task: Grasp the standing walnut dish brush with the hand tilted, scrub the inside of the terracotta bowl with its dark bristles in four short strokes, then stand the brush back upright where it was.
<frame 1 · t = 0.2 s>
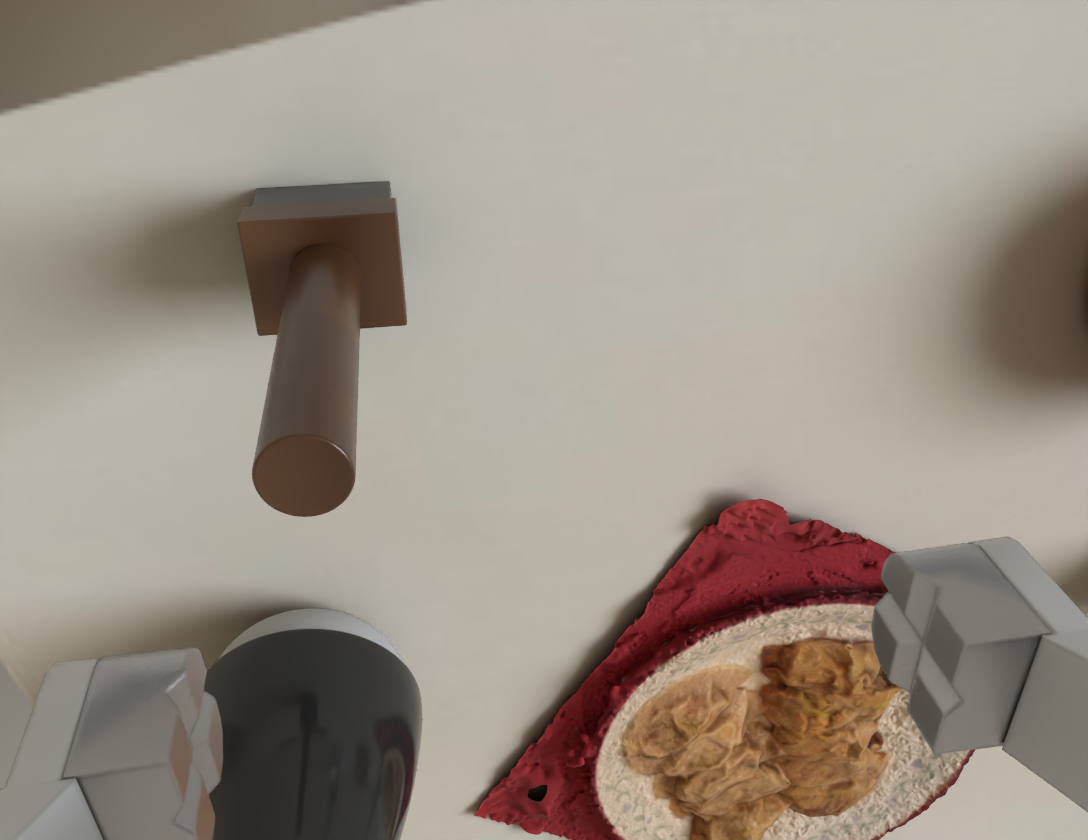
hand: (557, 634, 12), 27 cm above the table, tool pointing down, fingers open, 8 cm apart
plate with food: (762, 718, 55), on the table
dish brush: (330, 233, 37), on the table
pump dispenser: (312, 652, 48), on the table
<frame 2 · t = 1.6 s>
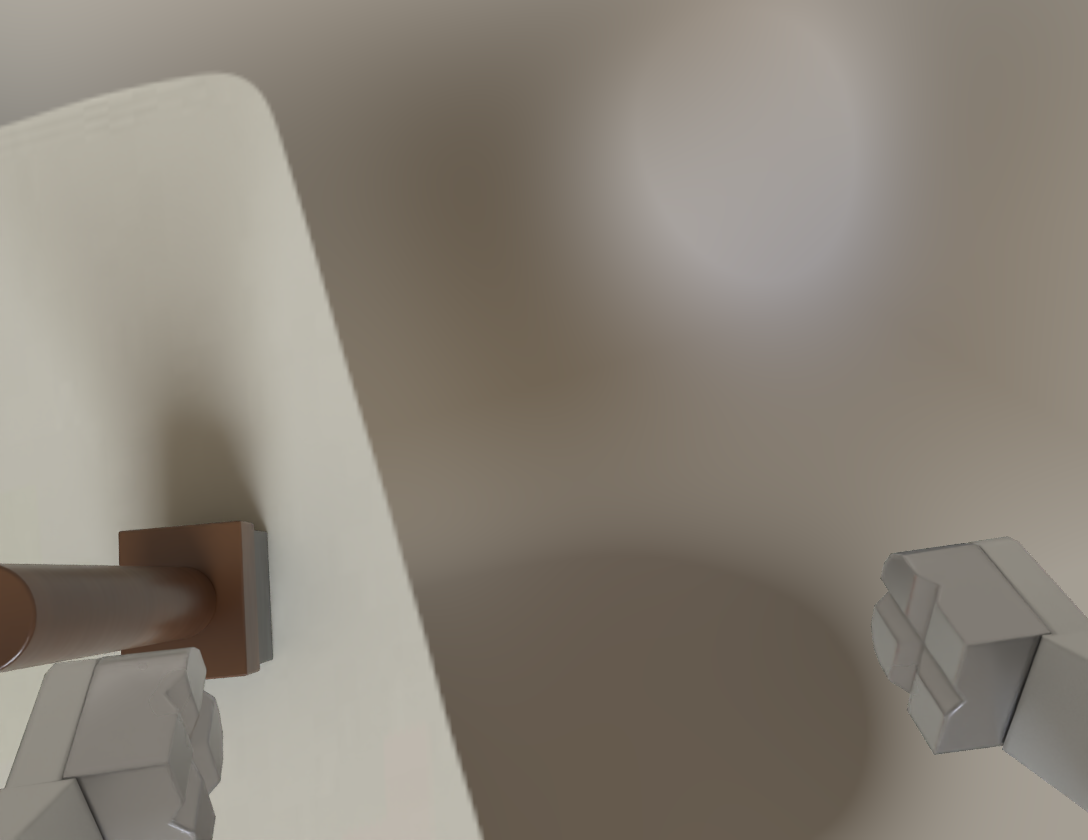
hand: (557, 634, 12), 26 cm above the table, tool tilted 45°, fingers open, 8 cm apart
dish brush: (220, 599, 37), on the table
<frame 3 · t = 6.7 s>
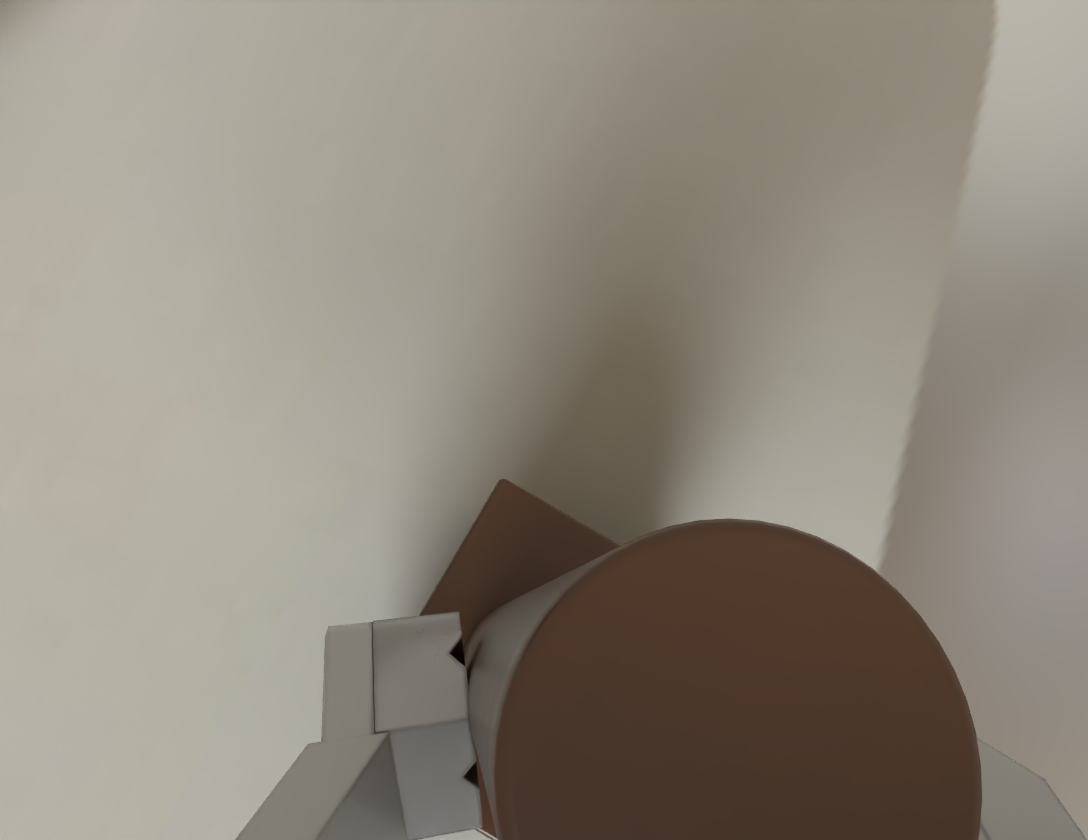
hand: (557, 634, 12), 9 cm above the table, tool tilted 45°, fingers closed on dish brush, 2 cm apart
dish brush: (515, 664, 20), on the table, touching gripper
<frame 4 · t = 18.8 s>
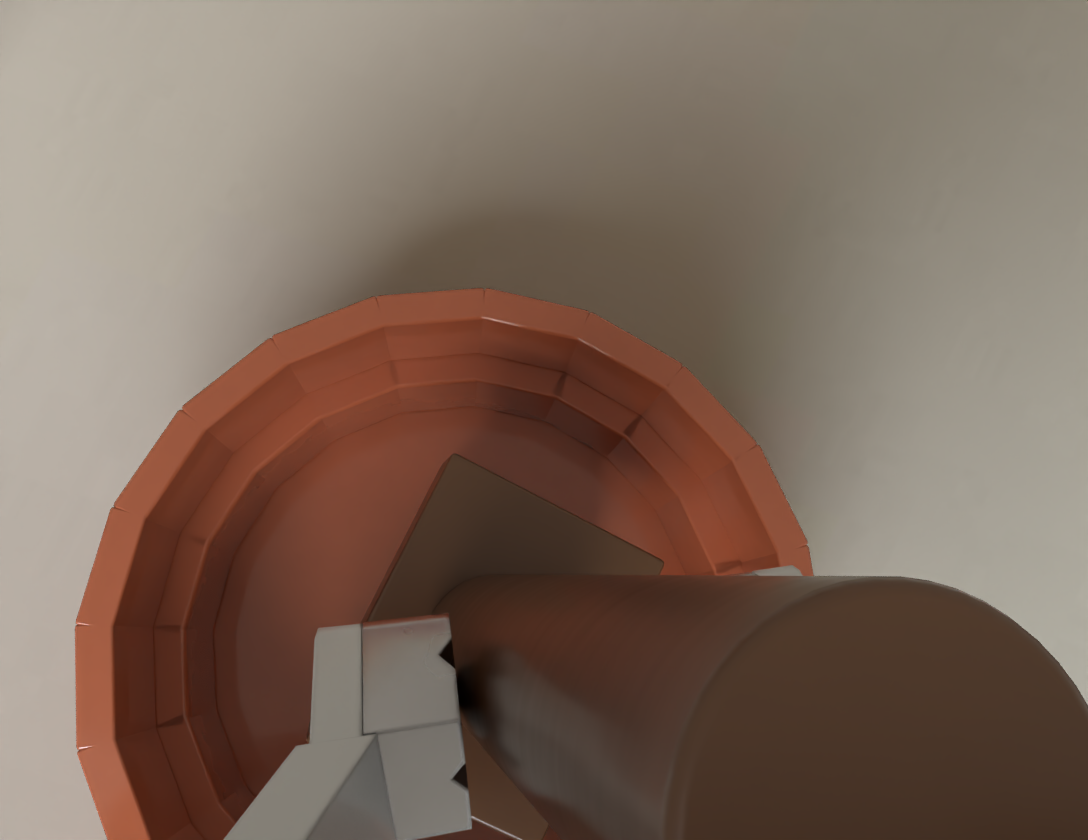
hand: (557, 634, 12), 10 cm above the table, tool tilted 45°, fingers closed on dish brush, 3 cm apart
dish brush: (463, 632, 20), point 1 cm above the table, tilted 8°, touching bowl, gripper
bowl: (460, 640, 21), on the table, touching dish brush
when the fingers open (9 cm above the table, at t = 31.2 s): dish brush stays where it is, on the table.
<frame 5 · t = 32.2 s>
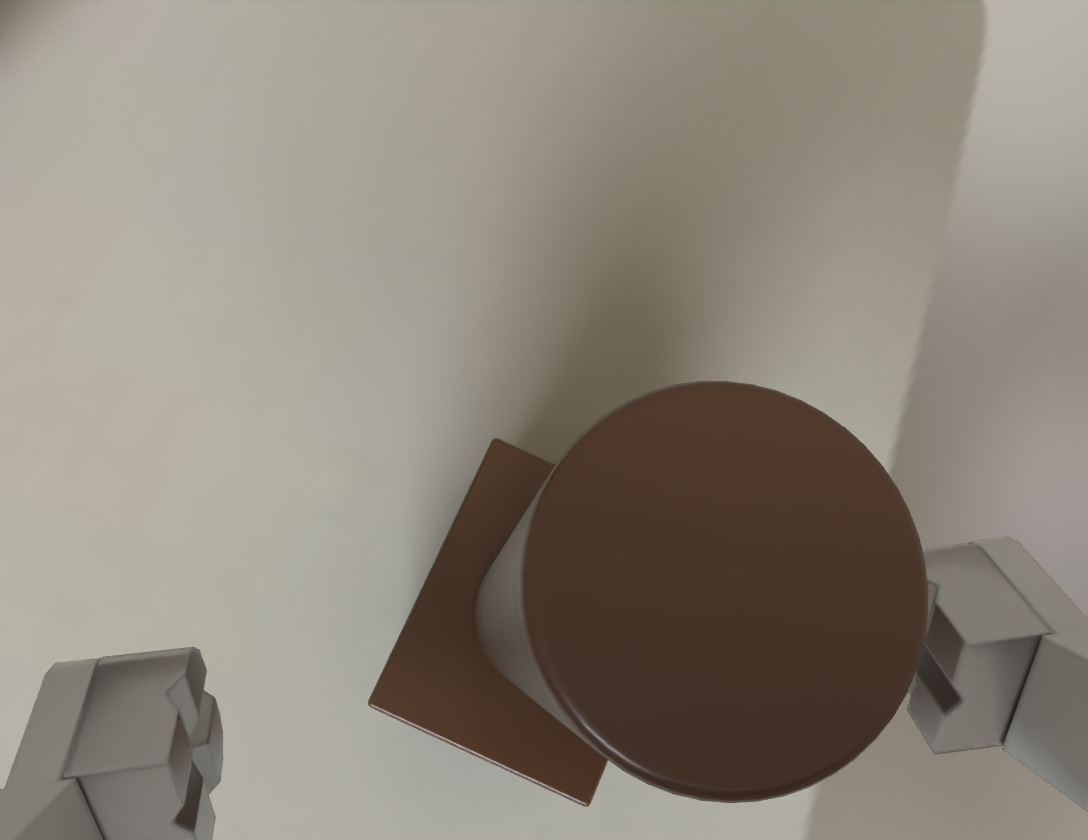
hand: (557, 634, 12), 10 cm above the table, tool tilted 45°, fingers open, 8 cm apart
dish brush: (523, 618, 21), on the table
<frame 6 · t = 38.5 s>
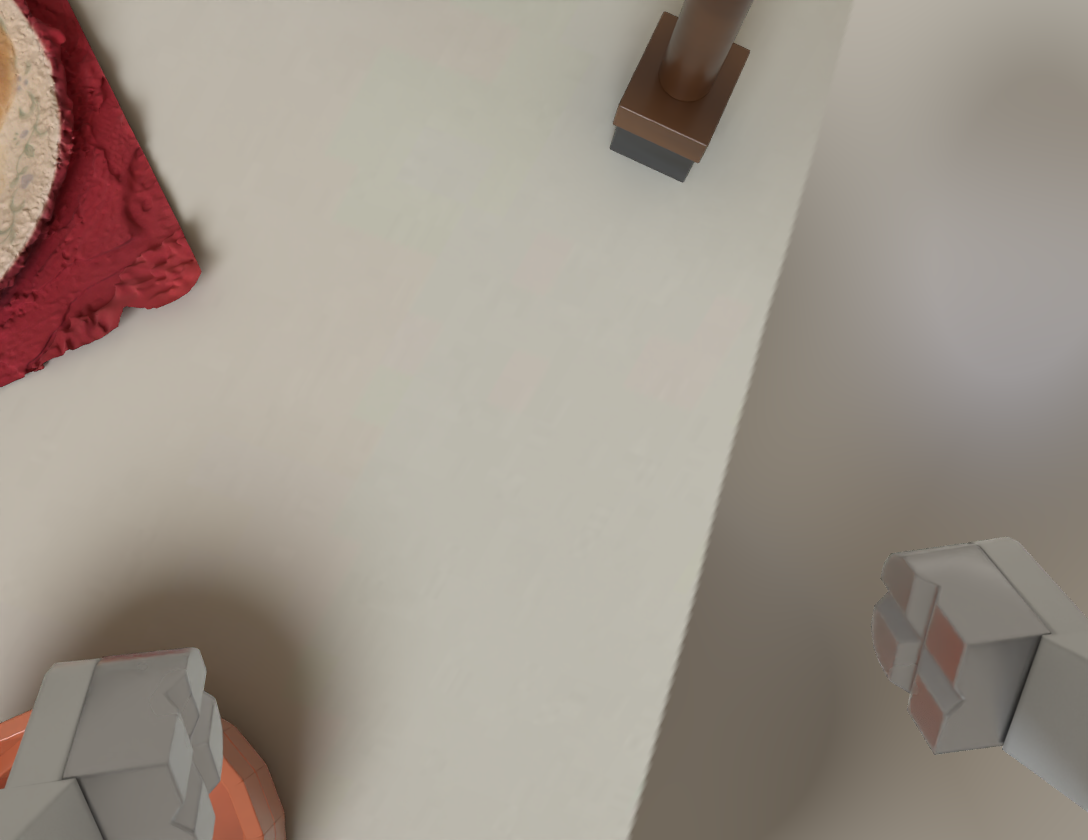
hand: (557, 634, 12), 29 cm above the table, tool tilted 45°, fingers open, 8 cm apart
dish brush: (665, 124, 46), on the table
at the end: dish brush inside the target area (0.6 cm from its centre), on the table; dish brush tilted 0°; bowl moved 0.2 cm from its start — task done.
